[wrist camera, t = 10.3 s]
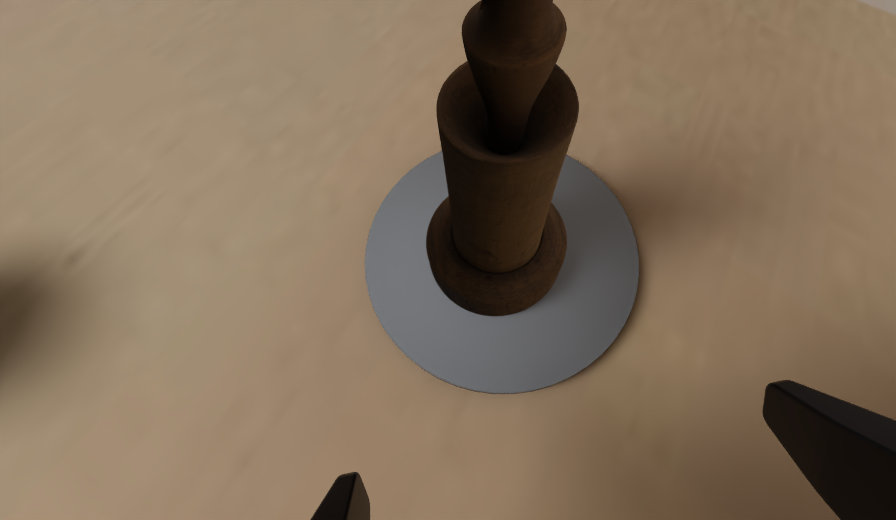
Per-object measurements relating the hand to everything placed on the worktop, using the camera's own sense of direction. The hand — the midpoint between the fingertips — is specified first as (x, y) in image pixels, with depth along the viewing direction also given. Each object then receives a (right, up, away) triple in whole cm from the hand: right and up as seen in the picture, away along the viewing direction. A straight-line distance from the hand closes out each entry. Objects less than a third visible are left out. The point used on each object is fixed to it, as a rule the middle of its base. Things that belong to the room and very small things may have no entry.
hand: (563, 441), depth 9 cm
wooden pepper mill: (0, +4, +13) cm, 13 cm away
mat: (0, +4, +14) cm, 14 cm away
